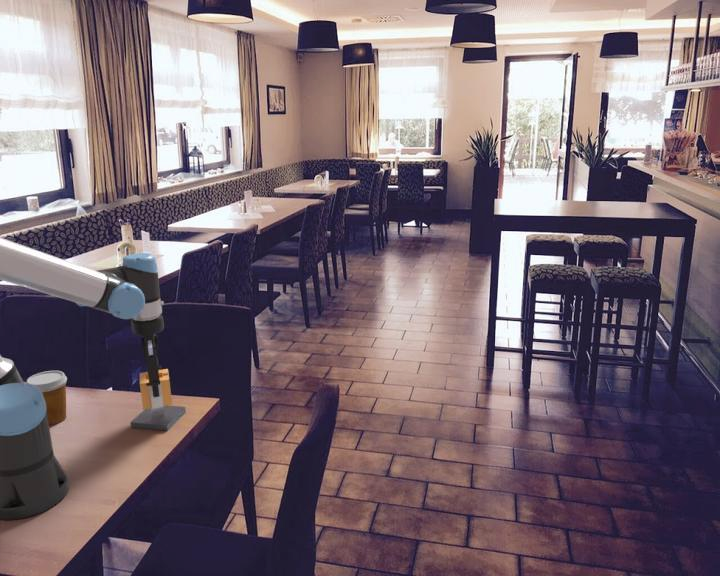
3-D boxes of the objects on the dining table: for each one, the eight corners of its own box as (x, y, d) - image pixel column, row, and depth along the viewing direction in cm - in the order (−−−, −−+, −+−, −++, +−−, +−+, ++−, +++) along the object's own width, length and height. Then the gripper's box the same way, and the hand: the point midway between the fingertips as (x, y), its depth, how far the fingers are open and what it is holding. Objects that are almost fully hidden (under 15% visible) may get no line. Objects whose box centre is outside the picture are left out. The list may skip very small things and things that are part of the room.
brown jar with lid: (80, 412, 160) (74, 370, 157) (57, 430, 151) (50, 386, 148) (49, 409, 162) (41, 368, 158) (24, 427, 153) (15, 384, 149)
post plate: (167, 430, 150) (163, 396, 147) (131, 427, 152) (126, 393, 149) (185, 411, 159) (182, 379, 157) (151, 409, 161) (147, 376, 159)
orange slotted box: (143, 409, 150) (139, 383, 148) (143, 397, 156) (139, 372, 154) (172, 404, 152) (169, 378, 150) (170, 393, 159) (167, 368, 157)
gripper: (164, 326, 140) (174, 415, 146) (161, 302, 158) (170, 382, 164) (130, 331, 138) (142, 420, 144) (131, 306, 156) (141, 386, 162)
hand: (157, 400), depth 154 cm, fingers closed on orange slotted box, 7 cm apart
